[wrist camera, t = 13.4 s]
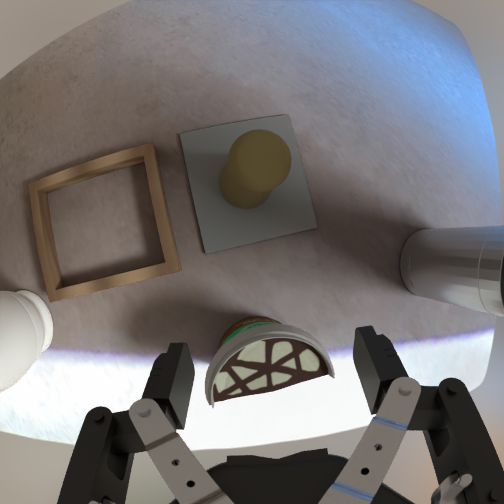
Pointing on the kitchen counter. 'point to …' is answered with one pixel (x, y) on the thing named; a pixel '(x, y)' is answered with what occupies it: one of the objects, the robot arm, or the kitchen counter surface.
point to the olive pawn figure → (254, 168)
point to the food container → (263, 359)
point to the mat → (237, 219)
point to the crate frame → (84, 172)
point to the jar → (21, 334)
